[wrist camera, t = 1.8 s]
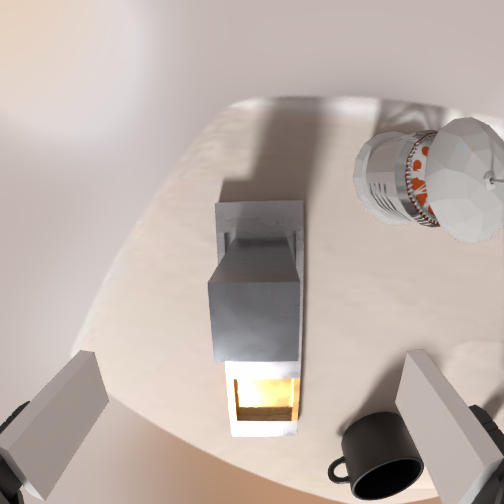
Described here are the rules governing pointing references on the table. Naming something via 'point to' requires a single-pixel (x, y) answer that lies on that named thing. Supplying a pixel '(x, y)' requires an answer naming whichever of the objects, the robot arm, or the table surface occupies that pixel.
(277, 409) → the rail
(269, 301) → the graphite post
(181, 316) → the table surface
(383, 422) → the mug
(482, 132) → the french press
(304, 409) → the table surface
